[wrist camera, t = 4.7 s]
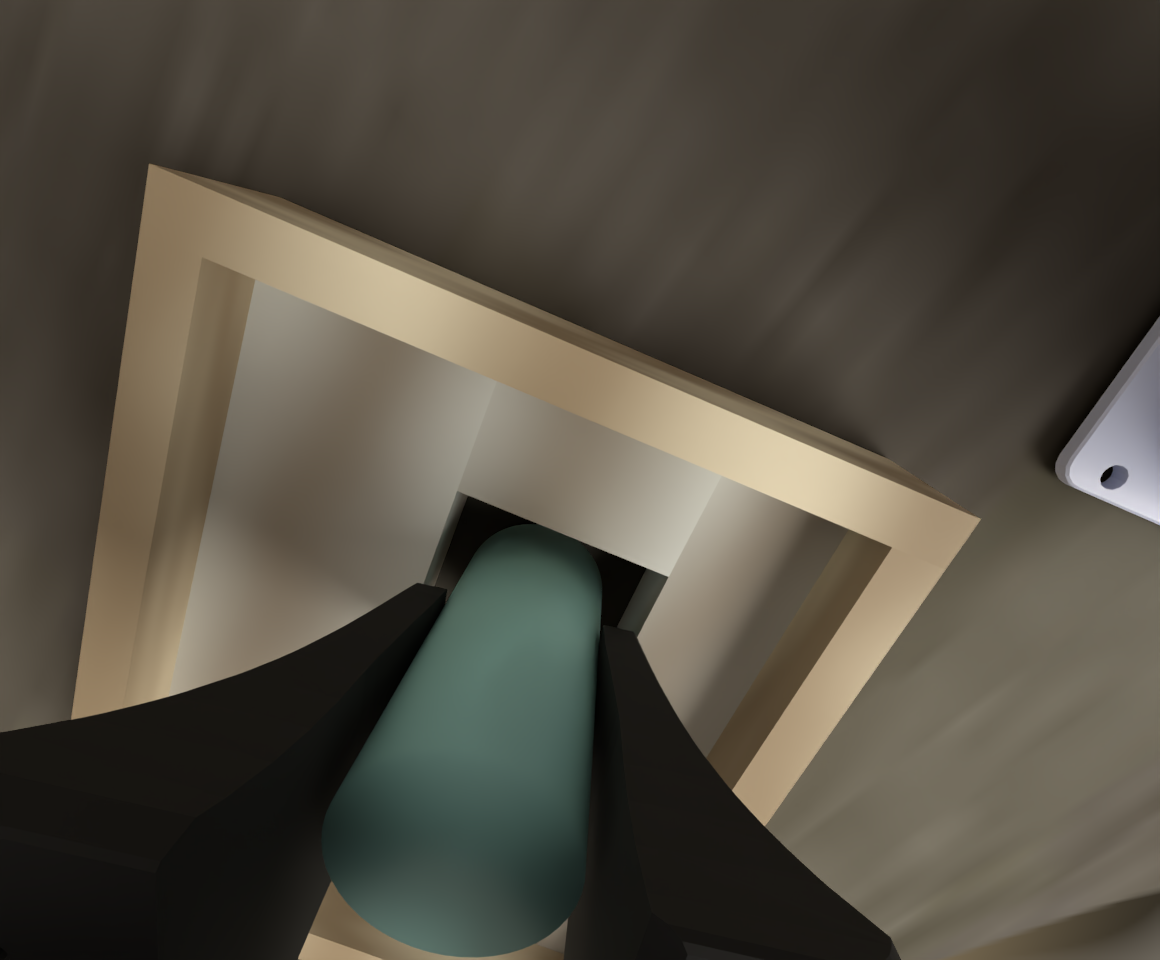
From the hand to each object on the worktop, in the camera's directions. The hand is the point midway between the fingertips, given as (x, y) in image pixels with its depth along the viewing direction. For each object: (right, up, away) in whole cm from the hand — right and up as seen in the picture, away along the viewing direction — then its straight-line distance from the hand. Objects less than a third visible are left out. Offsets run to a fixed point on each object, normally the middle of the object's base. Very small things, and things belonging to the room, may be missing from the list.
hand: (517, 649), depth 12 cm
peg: (0, +1, +2) cm, 2 cm away
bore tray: (-2, 0, +3) cm, 4 cm away
